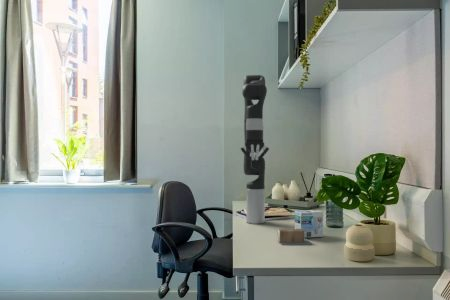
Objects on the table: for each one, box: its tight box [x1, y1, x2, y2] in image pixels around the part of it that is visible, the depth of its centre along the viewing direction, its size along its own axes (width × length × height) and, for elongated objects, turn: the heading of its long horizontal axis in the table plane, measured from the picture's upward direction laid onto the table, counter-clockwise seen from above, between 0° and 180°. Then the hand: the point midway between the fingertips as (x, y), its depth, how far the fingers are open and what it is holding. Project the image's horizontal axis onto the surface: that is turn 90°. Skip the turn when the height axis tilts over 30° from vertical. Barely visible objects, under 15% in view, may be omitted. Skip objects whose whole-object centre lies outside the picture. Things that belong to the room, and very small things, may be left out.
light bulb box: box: [294, 209, 324, 239], centre depth 173 cm, size 11×7×11 cm, turn 105°
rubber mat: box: [280, 238, 313, 246], centre depth 164 cm, size 10×12×1 cm
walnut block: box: [276, 228, 304, 244], centre depth 164 cm, size 4×4×10 cm
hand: (254, 168), depth 177 cm, fingers closed
